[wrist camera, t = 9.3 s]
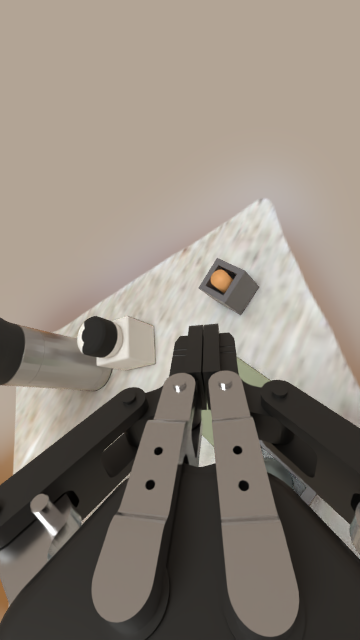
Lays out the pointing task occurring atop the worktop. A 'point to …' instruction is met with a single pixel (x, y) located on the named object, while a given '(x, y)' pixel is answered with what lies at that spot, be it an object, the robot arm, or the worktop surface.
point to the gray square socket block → (231, 287)
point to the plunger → (221, 280)
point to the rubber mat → (247, 376)
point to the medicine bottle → (118, 342)
